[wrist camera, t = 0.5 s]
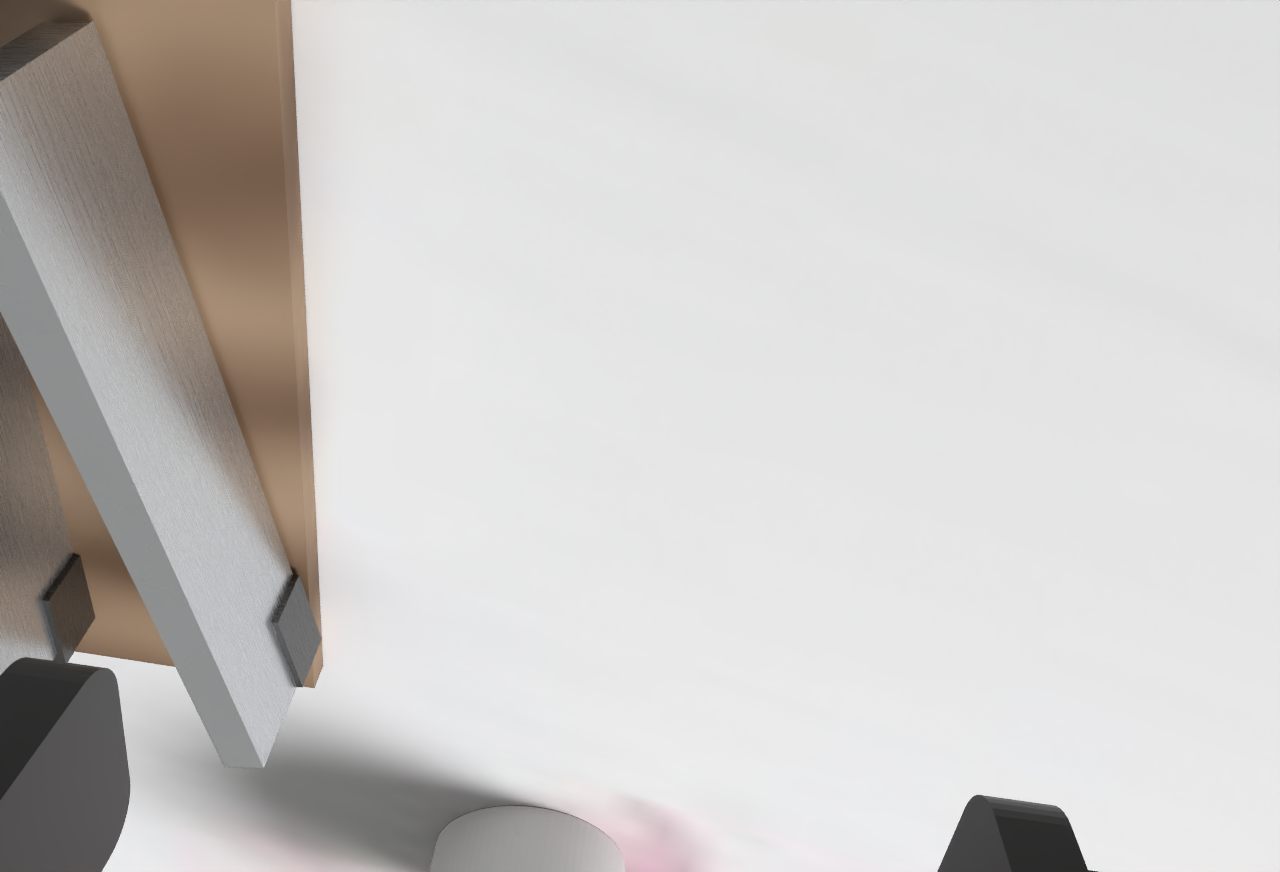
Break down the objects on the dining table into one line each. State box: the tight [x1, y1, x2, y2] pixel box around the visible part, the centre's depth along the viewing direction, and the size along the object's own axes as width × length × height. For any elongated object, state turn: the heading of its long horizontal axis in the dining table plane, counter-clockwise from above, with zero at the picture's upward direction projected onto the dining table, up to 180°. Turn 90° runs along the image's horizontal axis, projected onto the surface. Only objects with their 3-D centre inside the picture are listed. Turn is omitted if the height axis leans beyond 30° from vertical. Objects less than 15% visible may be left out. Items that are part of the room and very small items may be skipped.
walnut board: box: [0, 0, 323, 688], centre depth 29 cm, size 26×13×1 cm, turn 171°
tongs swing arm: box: [0, 21, 322, 768], centre depth 27 cm, size 20×2×5 cm, turn 3°
